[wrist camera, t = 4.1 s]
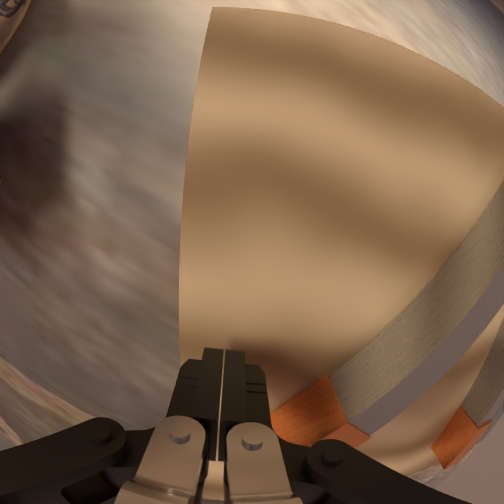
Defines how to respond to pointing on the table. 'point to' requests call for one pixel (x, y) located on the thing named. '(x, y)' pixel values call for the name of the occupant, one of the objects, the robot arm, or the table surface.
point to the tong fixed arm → (474, 408)
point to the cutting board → (328, 207)
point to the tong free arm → (407, 346)
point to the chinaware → (11, 20)
